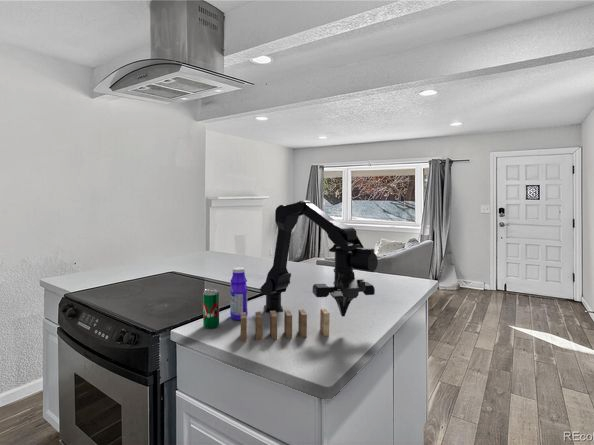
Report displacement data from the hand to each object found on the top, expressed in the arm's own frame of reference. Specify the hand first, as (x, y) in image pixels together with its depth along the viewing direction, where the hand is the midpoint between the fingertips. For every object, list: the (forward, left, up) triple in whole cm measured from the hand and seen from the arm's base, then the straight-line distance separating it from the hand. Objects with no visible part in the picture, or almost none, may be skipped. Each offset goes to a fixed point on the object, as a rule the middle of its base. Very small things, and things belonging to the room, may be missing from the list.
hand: (342, 316), depth 111 cm
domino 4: (0, -17, -5) cm, 18 cm away
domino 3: (0, -22, -5) cm, 23 cm away
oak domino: (0, -6, -5) cm, 8 cm away
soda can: (-11, -41, -5) cm, 43 cm away
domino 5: (0, -13, -5) cm, 14 cm away
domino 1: (0, -31, -5) cm, 31 cm away
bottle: (-18, -32, -5) cm, 37 cm away
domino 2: (0, -26, -5) cm, 27 cm away
